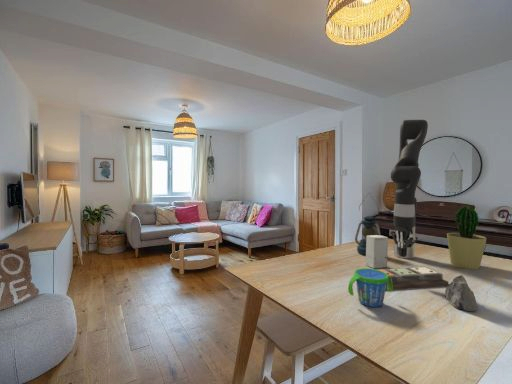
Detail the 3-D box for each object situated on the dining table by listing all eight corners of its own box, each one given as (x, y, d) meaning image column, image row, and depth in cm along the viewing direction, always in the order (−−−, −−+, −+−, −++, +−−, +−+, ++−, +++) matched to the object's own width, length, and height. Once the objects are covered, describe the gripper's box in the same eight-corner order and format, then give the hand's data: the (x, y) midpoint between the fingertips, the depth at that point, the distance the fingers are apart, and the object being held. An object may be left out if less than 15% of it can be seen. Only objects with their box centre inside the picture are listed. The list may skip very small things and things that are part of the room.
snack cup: (355, 311, 83) (356, 279, 83) (341, 296, 94) (342, 268, 93) (402, 309, 85) (403, 278, 84) (383, 295, 95) (383, 267, 95)
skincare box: (373, 269, 124) (374, 237, 123) (364, 265, 130) (365, 235, 129) (387, 267, 126) (388, 236, 126) (378, 263, 132) (379, 234, 132)
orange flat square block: (367, 274, 110) (367, 269, 110) (382, 273, 111) (383, 268, 111) (378, 281, 103) (378, 275, 103) (394, 280, 104) (394, 274, 104)
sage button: (389, 273, 112) (389, 268, 112) (403, 272, 113) (404, 267, 113) (400, 279, 105) (401, 274, 105) (416, 278, 106) (416, 273, 106)
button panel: (359, 276, 113) (359, 268, 113) (420, 273, 119) (421, 264, 118) (380, 290, 100) (380, 280, 100) (448, 285, 105) (448, 276, 105)
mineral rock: (448, 293, 98) (449, 266, 97) (486, 304, 89) (487, 275, 89) (435, 302, 90) (436, 273, 90) (475, 315, 81) (476, 283, 81)
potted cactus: (470, 261, 137) (472, 204, 136) (494, 271, 122) (497, 207, 121) (439, 260, 139) (441, 203, 138) (458, 269, 124) (461, 206, 122)
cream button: (410, 272, 114) (410, 267, 113) (424, 271, 115) (424, 266, 115) (422, 278, 107) (423, 273, 107) (437, 277, 108) (438, 272, 108)
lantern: (382, 253, 151) (384, 192, 150) (380, 258, 141) (382, 193, 140) (356, 249, 159) (358, 191, 157) (352, 254, 149) (354, 192, 147)
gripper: (424, 217, 102) (423, 261, 103) (400, 212, 115) (399, 251, 116) (407, 217, 101) (406, 262, 102) (385, 212, 114) (384, 252, 115)
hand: (402, 256), depth 109 cm, fingers closed
